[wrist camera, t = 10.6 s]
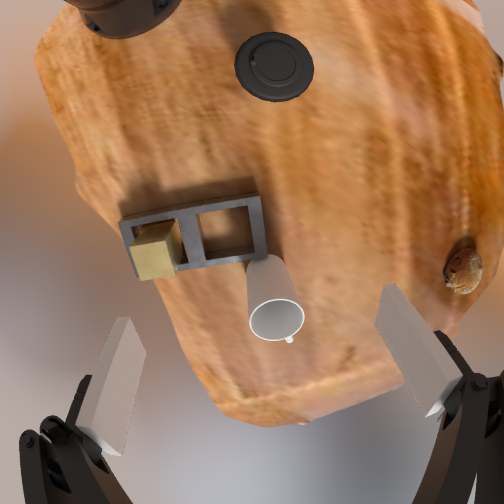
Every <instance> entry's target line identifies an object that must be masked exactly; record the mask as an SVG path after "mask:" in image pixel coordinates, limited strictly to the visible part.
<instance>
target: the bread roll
mask: <svg viewBox="0 0 504 504" xmlns="http://www.w3.org/2000/svg"><path fill="white" fill-rule="evenodd" d="M482 272H483V263H482V259H481V257H480V255H479V254H478V253H477V252H476V251H475V250H473V249H471V248H466V249H463V250H460V251H458V252H457V253H456V254H455V255H454V256H453V257H452V258H451V259H450V261H449V263H448V264H447V267H446V271H445V276H444V278H445V283H446V284H447V286H449V288H450V289H451V291H452V292H456V293H458V294H467V293H470V292H471V291H473V290H474V288H475V287H476V286H477V285H478V283H479V281H480V279H481V276H482Z"/></svg>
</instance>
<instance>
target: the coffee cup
mask: <svg viewBox="0 0 504 504" xmlns="http://www.w3.org/2000/svg"><path fill="white" fill-rule="evenodd" d="M234 66H235V72H236V77H237V78H238V80H239V82H240V84H241V85H242V87H243V88H245V89H246V90H247V91H248V92H249V93H250V94H251V95H253V96H255V97H257V98H259V99H261V100H265V101H271V102H282V101H289V100H291V99H293V98H296V97H298V96H299V95H301V94H302V93H303V92H304V91H305V90H306V89H307V88H308V86H309V85H310V83H311V81H312V79H313V73H314V65H313V60H312V57H311V55H310V53H309V51H308V50H307V48H306V47H305V46H304V45H303V44H302V43H301V42H300V41H299V40H297V39H295V38H293V37H291V36H289V35H287V34H283V33H278V32H265V33H261V34H258V35H255V36H253V37H251V38H249V39H248V40H247V41H246V42H244V43H243V44H242V45H241V47H240V49H239V50H238V52H237V54H236V58H235V63H234Z"/></svg>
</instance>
